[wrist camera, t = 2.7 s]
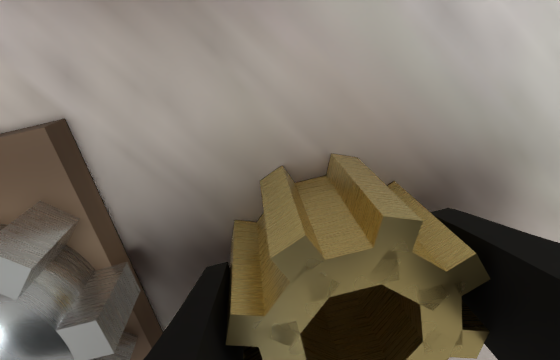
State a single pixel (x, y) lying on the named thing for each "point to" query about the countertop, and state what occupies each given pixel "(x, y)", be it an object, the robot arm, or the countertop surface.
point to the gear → (60, 294)
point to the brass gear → (349, 274)
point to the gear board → (68, 206)
